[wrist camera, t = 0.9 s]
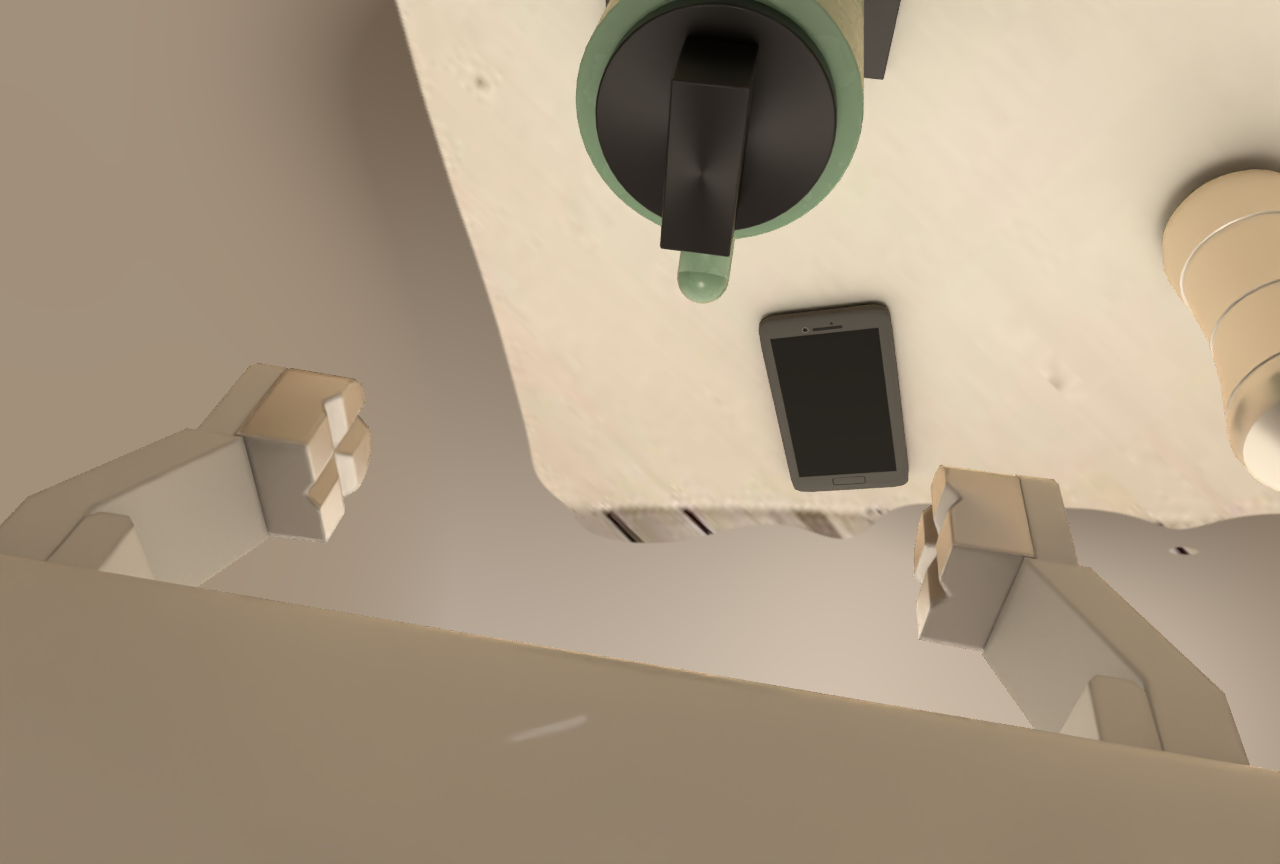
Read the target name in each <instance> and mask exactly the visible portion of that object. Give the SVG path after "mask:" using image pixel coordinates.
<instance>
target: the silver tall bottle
mask: <svg viewBox="0 0 1280 864" xmlns="http://www.w3.org/2000/svg"><path fill="white" fill-rule="evenodd" d="M1162 250H1163V264H1164V271H1165V274H1166V276H1167V279H1168V281H1169V282H1170V284H1171V285H1172V287H1173V288H1174V290H1175V291H1176V293H1177V294H1178V296H1179V297H1180V298H1181V300H1182V301H1183V302H1184V303H1185V304H1186V305H1187V307H1188V308H1189V309H1190V310H1191V311H1192V313H1193V315H1194V317H1195V318H1196V320H1197V322H1198V324H1199V326H1200V327H1201V329H1202V331H1203V333H1204V335H1205V336H1206V338H1207V340H1208V342H1209V345H1210V349H1211V352H1212V354H1213V359H1214V362H1215V366H1216V369H1217V373H1218V376H1219V379H1220V384H1221V391H1222V399H1223V406H1224V413H1225V420H1226V428H1227V433H1228V437H1229V441H1230V445H1231V448H1232V450H1233V453H1234V455H1235V457H1236V458H1237V459H1238V460H1239V462H1240V463H1241V464H1242V465H1243V466H1244V467H1245V468H1246V469H1247V470H1248V471H1249V472H1250V474H1251V475H1252V476H1253V477H1254V478H1255V479H1257V480H1258V481H1260V482H1261V483H1263V484H1264V485H1266V486H1268V487H1270V488H1272V489H1275V490H1277V491H1279V492H1280V172H1275V171H1271V170H1259V169H1251V170H1244V171H1237V172H1232V173H1229V174H1225V175H1222V176H1219V177H1217V178H1215V179H1213V180H1210V181H1208V182H1207V183H1205V184H1203V185H1202V186H1200V187H1199V188H1197V189H1196V190H1195V191H1194V192H1192V193H1191V194H1190V195H1189V196H1188V197H1187V198H1185V199H1184V200H1183V202H1182V203H1181V204H1180V205H1179V206H1178V207H1177V208H1176V210H1175V211H1174V212H1173V214H1172V216H1171V217H1170V219H1169V221H1168V223H1167V225H1166V228H1165V231H1164V234H1163V241H1162Z"/></svg>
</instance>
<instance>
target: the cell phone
mask: <svg viewBox="0 0 1280 864" xmlns="http://www.w3.org/2000/svg"><path fill="white" fill-rule="evenodd" d="M759 336H760V341H761V347H762V352H763V357H764V361H765V365H766V370H767V374H768V379H769V383H770V388H771V392H772V397H773V401H774V405H775V410H776V414H777V419H778V423H779V428H780V432H781V436H782V441H783V445H784V450H785V454H786V459H787V463H788V468H789V472H790V476H791V480H792V483H793V486H794V488H795V489H796V490H798V491H803V492H817V491H833V490H850V489H866V488H883V487H896V486H901V485H904V484H906V483H907V481H908V460H907V451H906V443H905V434H904V425H903V417H902V408H901V400H900V391H899V383H898V374H897V365H896V357H895V348H894V340H893V332H892V325H891V319H890V314H889V312H888V309H887V308H886V307H885V306H882V305H870V304H869V305H861V306H852V307H843V308H834V309H826V310H817V311H808V312H800V313H791V314H782V315H773V316H770V317H768V318H765V319H763V320H762V321H761V322H760V325H759Z"/></svg>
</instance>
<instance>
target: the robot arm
mask: <svg viewBox="0 0 1280 864" xmlns="http://www.w3.org/2000/svg"><path fill="white" fill-rule="evenodd" d="M364 404H365V399H364V394H363V389H362V384H361V383H359V382H358V381H357V380H356V379H353V378H346V377H341V376H335V375H329V374H323V373H317V372H311V371H305V370H300V369H294V368H290V369H288V368H285V367H278V366H272V365H266V364H261V363H258V364H255V365H252V366H249V367H248V368H247V370H246V371H245V372H244V373H243V374H242V376H241V377H240V378H239V380H237V382H236V383H235V384H234V385H233V387H232V388H231V389H230V390H229V391H228V393H227V394H226V395H225V396H224V397H223V399H222V400H221V401H220V402H219V403H218V405H217V406H216V407H215V408H214V409H213V411H212V412H211V413H210V414H209V415H208V417H207V418H206V419H205V420H204V422H203V423H202V424H201V425H200V426H199V427H198V429H197V430H194V429H188V428H186V429H184V430H182V431H179V432H177V433H175V434H173V435H170V436H168V437H166V438H163V439H161V440H159V441H156V442H154V443H152V444H150V445H147V446H145V447H142V448H140V449H138V450H135V451H133V452H131V453H128V454H126V455H124V456H121V457H119V458H117V459H114V460H112V461H110V462H107V463H105V464H103V465H101V466H98V467H96V468H94V469H91V470H89V471H87V472H84V473H82V474H80V475H77V476H75V477H73V478H70V479H68V480H66V481H63V482H61V483H59V484H57V485H54V486H52V487H49V488H48V489H45V490H42V491H40V492H38V493H36V494H33V495H31V496H29V497H27V498H26V499H25V501H23V502H22V503H21V504H20V506H19V507H18V508H17V509H16V510H15V511H14V512H13V513H12V514H11V515H10V516H9V517H8V518H7V519H6V520H5V521H4V522H3V523H2V524H1V525H0V864H1280V771H1277V770H1272V769H1265V768H1259V767H1253V766H1250V764H1249V762H1248V759H1247V756H1246V753H1245V750H1244V747H1243V744H1242V742H1241V739H1240V736H1239V733H1238V730H1237V727H1236V724H1235V722H1234V719H1233V716H1232V713H1231V710H1230V707H1229V705H1228V702H1227V699H1226V696H1225V694H1224V693H1223V692H1222V691H1221V690H1220V689H1219V688H1218V687H1217V686H1216V685H1215V684H1214V683H1213V682H1212V681H1211V680H1210V679H1209V678H1207V677H1206V676H1205V675H1204V674H1203V673H1202V672H1201V671H1200V670H1199V669H1198V668H1197V667H1196V666H1195V665H1194V664H1192V663H1191V662H1190V661H1189V660H1188V659H1187V658H1186V657H1185V656H1184V655H1183V654H1182V653H1181V652H1180V651H1179V650H1178V649H1177V648H1175V647H1174V646H1173V645H1172V644H1171V643H1170V642H1169V641H1168V640H1167V639H1166V638H1165V637H1164V636H1163V635H1162V634H1161V633H1160V632H1158V631H1157V630H1156V629H1155V628H1154V627H1153V626H1152V625H1151V624H1150V623H1149V622H1148V621H1147V620H1146V619H1145V618H1144V617H1142V616H1141V615H1140V614H1139V613H1138V612H1137V611H1136V610H1135V609H1134V608H1133V607H1132V606H1131V605H1129V603H1128V602H1126V601H1125V600H1124V599H1123V598H1122V597H1121V596H1120V595H1119V594H1118V593H1117V592H1116V591H1115V590H1114V589H1113V588H1112V587H1110V586H1109V585H1108V584H1107V583H1106V582H1105V581H1104V580H1103V579H1102V578H1101V577H1100V576H1099V575H1098V574H1097V573H1095V572H1094V571H1093V570H1092V569H1091V568H1090V567H1084V566H1079V563H1078V559H1077V555H1076V551H1075V547H1074V543H1073V539H1072V535H1071V532H1070V527H1069V523H1068V519H1067V516H1066V512H1065V507H1064V504H1063V500H1062V496H1061V492H1060V488H1059V484H1058V483H1057V482H1056V481H1055V480H1054V479H1046V478H1038V477H1030V476H1022V475H1015V476H1013V475H1007V474H1000V473H992V472H985V471H978V470H971V469H964V468H957V467H950V466H943V465H940V466H939V468H938V470H937V471H936V473H935V476H934V479H933V482H932V485H931V496H932V505H931V506H930V507H928V508H927V509H925V510H924V511H923V512H922V516H921V519H920V523H919V526H918V529H917V535H916V541H915V547H914V577H915V578H916V579H917V581H918V582H919V583H920V584H921V585H922V586H921V589H920V592H919V595H918V598H917V601H916V608H917V620H918V634H919V640H923V641H929V642H934V643H939V644H944V645H949V646H955V647H960V648H965V649H971V650H976V651H981V652H983V654H982V655H983V656H984V658H985V659H986V661H987V662H988V664H989V665H990V667H991V668H992V669H993V671H994V672H995V674H996V675H997V676H998V678H999V679H1000V681H1001V682H1002V683H1003V685H1004V686H1005V688H1006V689H1007V691H1008V692H1009V693H1010V695H1011V696H1012V698H1013V699H1014V700H1015V702H1016V703H1017V705H1018V706H1019V708H1020V709H1021V710H1022V712H1023V713H1024V715H1025V716H1026V717H1027V719H1028V720H1029V722H1030V723H1031V724H1032V726H1033V727H1034V729H1030V728H1024V727H1018V726H1012V725H1006V724H1001V723H994V722H989V721H983V720H977V719H971V718H965V717H959V716H953V715H947V714H942V713H935V712H929V711H923V710H917V709H911V708H905V707H899V706H893V705H887V704H881V703H875V702H869V701H863V700H858V699H852V698H845V697H839V696H834V695H828V694H822V693H817V692H811V691H805V690H799V689H793V688H787V687H781V686H776V685H770V684H764V683H758V682H752V681H746V680H740V679H735V678H729V677H723V676H717V675H711V674H705V673H700V672H694V671H688V670H682V669H676V668H671V667H664V666H659V665H653V664H647V663H641V662H635V661H629V660H623V659H617V658H612V657H606V656H600V655H594V654H588V653H581V652H576V651H570V650H564V649H558V648H552V647H546V646H540V645H534V644H528V643H523V642H517V641H511V640H505V639H499V638H493V637H486V636H481V635H475V634H468V633H463V632H457V631H451V630H445V629H439V628H434V627H428V626H421V625H416V624H410V623H404V622H398V621H392V620H386V619H381V618H375V617H369V616H363V615H357V614H351V613H345V612H339V611H334V610H328V609H322V608H316V607H310V606H304V605H298V604H292V603H286V602H280V601H275V600H269V599H263V598H257V597H251V596H245V595H239V594H234V593H228V592H221V591H216V590H210V589H204V588H198V586H199V585H201V584H202V583H204V582H205V581H207V580H208V579H210V578H211V577H213V576H214V575H216V574H217V573H219V572H220V571H221V570H223V569H224V568H226V567H227V566H229V565H230V564H232V563H233V562H235V561H236V560H237V559H239V558H241V557H242V556H244V555H245V554H247V553H248V552H250V551H251V550H252V549H254V548H255V547H257V546H258V545H260V544H261V543H263V542H264V541H266V540H267V539H269V535H271V536H279V537H286V538H293V539H302V540H309V541H316V542H324V543H327V541H328V539H329V538H330V536H331V534H332V533H333V531H334V529H335V527H336V526H337V524H338V522H339V521H340V519H341V517H342V516H343V514H344V512H345V506H344V501H343V497H345V496H346V495H348V494H350V493H352V492H354V491H355V490H357V489H358V488H359V486H360V484H361V482H362V480H363V479H364V477H365V475H366V471H367V467H368V463H369V460H370V451H371V439H370V431H369V427H368V426H367V424H366V423H365V422H364V421H363V420H362V419H361V418H360V417H359V415H358V414H359V412H360V410H361V409H362V407H363V406H364Z"/></svg>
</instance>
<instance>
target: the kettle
mask: <svg viewBox="0 0 1280 864" xmlns="http://www.w3.org/2000/svg"><path fill="white" fill-rule="evenodd" d="M863 106H864V0H610V1H609V3H608V5H607V7H606V9H605V11H604V13H603V15H602V17H601V19H600V21H599V23H598V25H597V27H596V29H595V31H594V33H593V35H592V36H591V38H590V40H589V42H588V44H587V46H586V49H585V52H584V55H583V58H582V61H581V63H580V68H579V73H578V78H577V88H576V109H577V119H578V124H579V128H580V133H581V136H582V139H583V142H584V145H585V148H586V151H587V153H588V155H589V157H590V159H591V161H592V163H593V165H594V167H595V168H596V170H597V171H598V173H599V174H600V176H601V177H602V179H603V180H604V181H605V183H606V184H607V185H608V186H609V187H610V189H611V190H612V191H613V192H614V193H615V194H616V195H617V196H618V197H619V198H620V199H621V200H622V201H623V202H624V203H625V204H626V205H628V206H629V207H630V208H632V209H633V210H634V211H636V212H637V213H639V214H640V215H641V216H643V217H645V218H647V219H648V220H650V221H652V222H654V223H655V224H658V225H660V226H661V241H660V247H661V248H662V249H669V250H677V251H681V253H680V260H679V267H678V273H677V281H678V286H679V288H680V290H681V292H682V293H683V294H684V296H685V297H686V298H688V299H689V300H691V301H693V302H696V303H709V302H712V301H715V300H716V299H718V298H719V297H720V296H721V295H722V294H723V293H724V291H725V290H726V288H727V286H728V282H729V275H730V268H731V262H732V255H733V248H734V241H735V239H739V238H745V237H752V236H757V235H760V234H764V233H767V232H771V231H773V230H776V229H778V228H781V227H783V226H785V225H788V224H789V223H791V222H793V221H795V220H796V219H798V218H800V217H802V216H803V215H804V214H806V213H807V212H809V211H810V210H811V209H813V208H814V207H815V206H817V205H818V204H819V203H820V202H821V201H822V200H823V199H824V198H825V197H826V196H827V195H828V194H829V193H830V192H831V190H832V189H833V188H834V187H835V185H836V184H837V183H838V182H839V181H840V179H841V177H842V176H843V174H844V172H845V171H846V169H847V168H848V166H849V164H850V162H851V159H852V157H853V155H854V152H855V150H856V147H857V144H858V140H859V137H860V133H861V128H862V121H863Z"/></svg>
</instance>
